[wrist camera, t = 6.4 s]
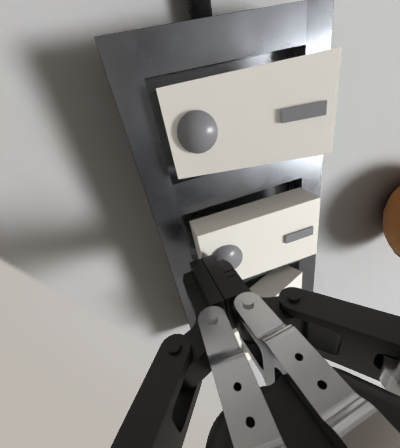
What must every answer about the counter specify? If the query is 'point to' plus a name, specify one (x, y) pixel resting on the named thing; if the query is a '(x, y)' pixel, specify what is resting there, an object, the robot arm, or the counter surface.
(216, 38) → the power strip
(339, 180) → the counter surface
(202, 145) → the rocker
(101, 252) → the counter surface
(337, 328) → the robot arm
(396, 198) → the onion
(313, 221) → the rocker middle
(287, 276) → the rocker
